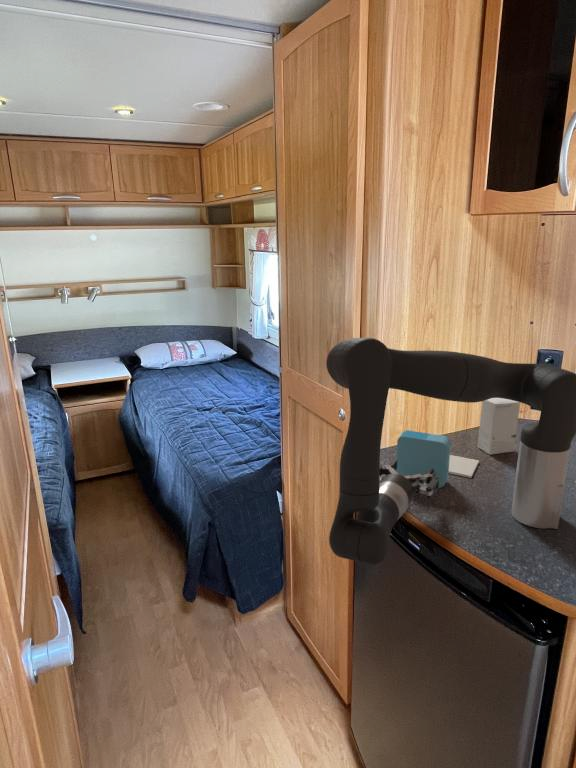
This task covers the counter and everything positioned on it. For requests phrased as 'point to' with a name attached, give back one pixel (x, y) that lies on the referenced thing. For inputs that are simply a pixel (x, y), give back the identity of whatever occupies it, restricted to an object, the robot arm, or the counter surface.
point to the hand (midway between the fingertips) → (413, 467)
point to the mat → (462, 466)
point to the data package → (423, 454)
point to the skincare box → (498, 425)
